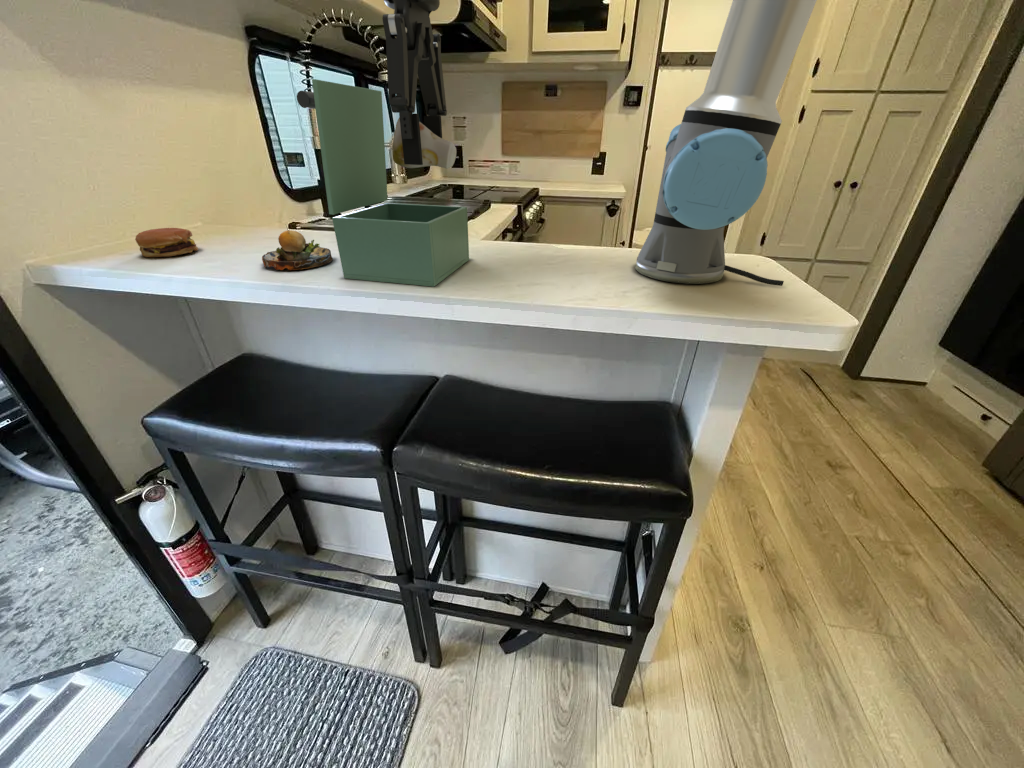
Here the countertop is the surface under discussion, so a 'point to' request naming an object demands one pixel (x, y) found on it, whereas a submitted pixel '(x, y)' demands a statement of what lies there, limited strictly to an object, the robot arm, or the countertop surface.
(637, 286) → the countertop surface
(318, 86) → the cool box lid
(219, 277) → the countertop surface
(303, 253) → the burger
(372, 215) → the cool box
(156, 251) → the burger
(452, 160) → the mug
